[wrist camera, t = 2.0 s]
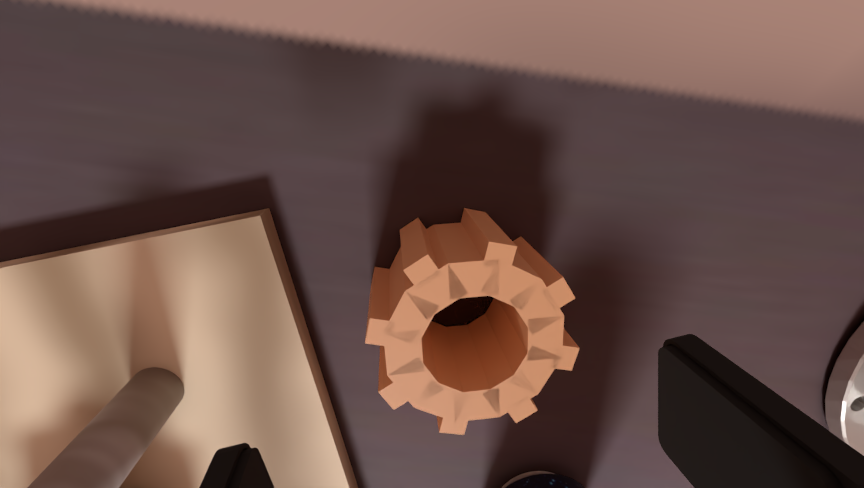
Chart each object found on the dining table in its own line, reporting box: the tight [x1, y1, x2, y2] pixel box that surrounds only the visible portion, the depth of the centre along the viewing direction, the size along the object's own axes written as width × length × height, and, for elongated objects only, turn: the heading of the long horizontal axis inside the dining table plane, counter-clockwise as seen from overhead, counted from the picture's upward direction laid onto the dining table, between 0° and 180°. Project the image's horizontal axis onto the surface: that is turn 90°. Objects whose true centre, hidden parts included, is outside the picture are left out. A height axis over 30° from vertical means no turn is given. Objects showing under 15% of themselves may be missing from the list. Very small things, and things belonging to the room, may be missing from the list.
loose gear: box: [365, 208, 580, 435], centre depth 16 cm, size 7×7×4 cm
